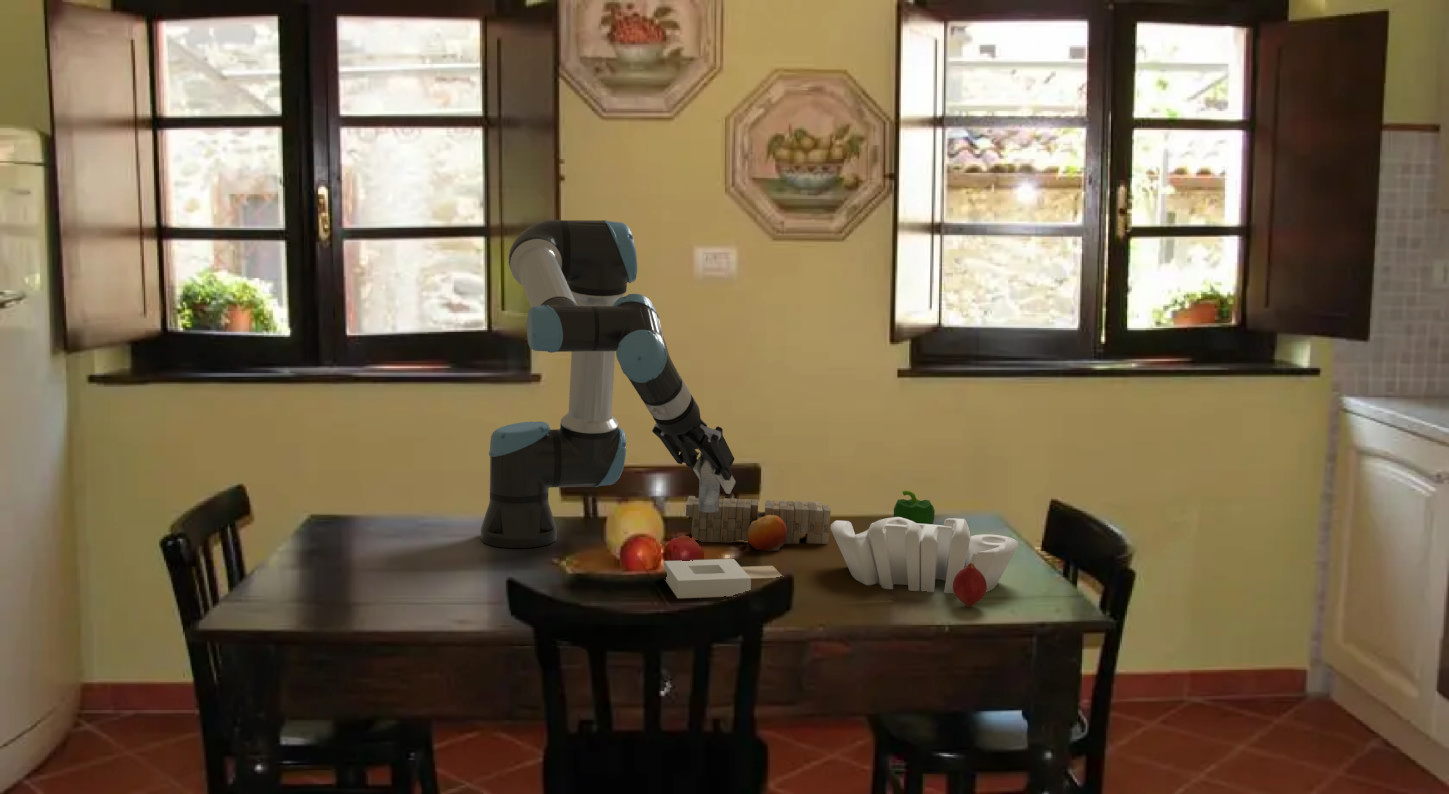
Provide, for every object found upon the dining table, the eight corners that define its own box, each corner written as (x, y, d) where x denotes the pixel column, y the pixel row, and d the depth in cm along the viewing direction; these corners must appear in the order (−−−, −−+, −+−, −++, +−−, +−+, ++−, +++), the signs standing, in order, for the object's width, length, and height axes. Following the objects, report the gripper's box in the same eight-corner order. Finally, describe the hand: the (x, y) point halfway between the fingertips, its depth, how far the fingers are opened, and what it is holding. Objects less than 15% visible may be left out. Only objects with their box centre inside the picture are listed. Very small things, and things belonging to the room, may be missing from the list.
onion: (948, 602, 244) (950, 557, 243) (980, 602, 244) (982, 558, 243) (956, 611, 238) (958, 566, 237) (989, 612, 239) (991, 566, 238)
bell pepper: (939, 537, 291) (942, 490, 289) (923, 545, 284) (925, 497, 282) (903, 531, 295) (905, 485, 294) (886, 538, 288) (888, 491, 287)
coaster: (731, 569, 261) (731, 567, 261) (772, 567, 263) (772, 565, 263) (741, 580, 253) (741, 578, 253) (783, 579, 255) (783, 577, 255)
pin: (696, 508, 247) (698, 436, 245) (716, 507, 248) (718, 436, 246) (700, 512, 244) (703, 439, 242) (720, 512, 244) (723, 439, 243)
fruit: (792, 549, 272) (773, 513, 272) (758, 566, 274) (738, 531, 273) (798, 539, 280) (779, 504, 279) (765, 556, 281) (746, 522, 281)
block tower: (826, 542, 289) (686, 532, 289) (829, 502, 287) (688, 492, 288) (827, 551, 281) (683, 541, 281) (830, 510, 280) (686, 500, 280)
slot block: (663, 579, 253) (664, 561, 252) (733, 577, 256) (733, 558, 255) (677, 600, 240) (678, 580, 240) (750, 597, 243) (750, 578, 243)
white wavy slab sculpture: (820, 583, 253) (822, 527, 252) (832, 561, 269) (835, 508, 268) (1015, 601, 246) (1018, 543, 245) (1016, 577, 262) (1019, 522, 260)
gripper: (621, 417, 235) (673, 496, 251) (704, 428, 226) (752, 509, 242) (640, 382, 238) (690, 463, 255) (722, 392, 230) (768, 475, 246)
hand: (720, 485), depth 249 cm, fingers closed on pin, 3 cm apart
